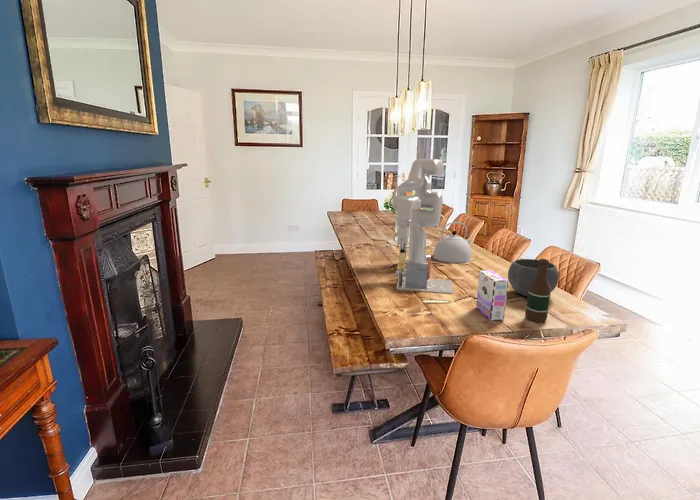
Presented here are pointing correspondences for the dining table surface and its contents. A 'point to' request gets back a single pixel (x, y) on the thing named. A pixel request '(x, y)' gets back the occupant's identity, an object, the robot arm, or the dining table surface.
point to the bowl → (529, 275)
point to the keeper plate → (402, 261)
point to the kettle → (453, 248)
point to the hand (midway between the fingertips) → (402, 258)
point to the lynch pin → (405, 271)
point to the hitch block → (422, 280)
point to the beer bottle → (539, 295)
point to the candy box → (492, 295)
